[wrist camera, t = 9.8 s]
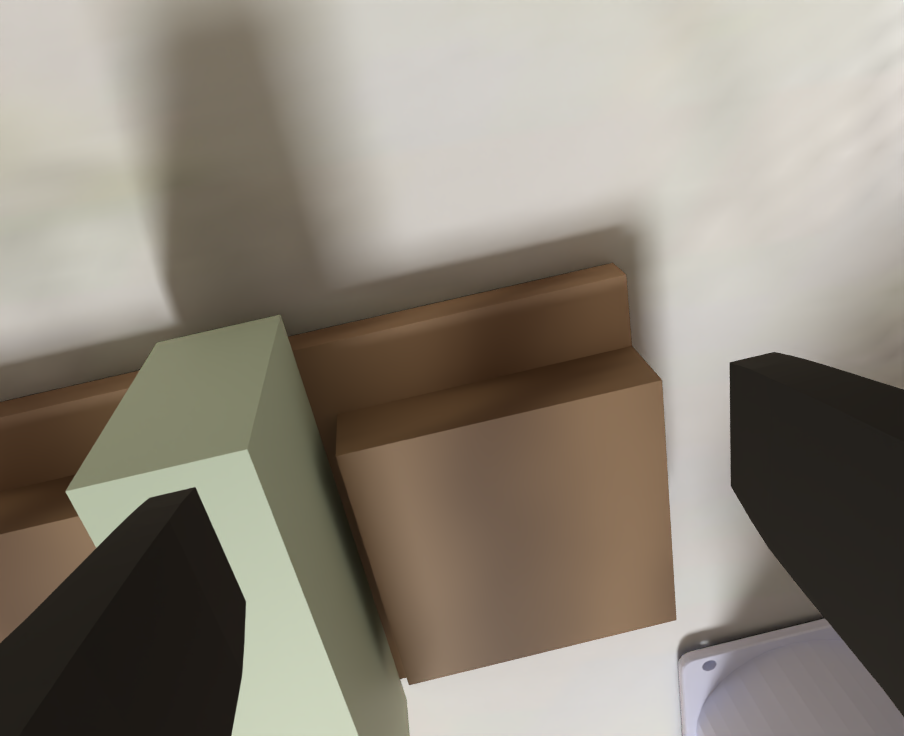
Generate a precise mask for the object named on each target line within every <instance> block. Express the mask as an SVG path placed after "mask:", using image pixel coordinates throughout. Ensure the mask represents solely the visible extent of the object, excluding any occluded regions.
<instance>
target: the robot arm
mask: <svg viewBox="0 0 904 736" xmlns="http://www.w3.org/2000/svg"><path fill="white" fill-rule="evenodd" d="M730 443H731V487H732V489H733V490H734V492H735V494H736V495H737V497H738V499H739V501H740V502H741V504H742V506H743V507H744V509H745V511H746V513H747V514H748V516H749V518H750V519H751V521H752V523H753V524H754V526H755V527H756V529H757V531H758V532H759V534H760V535H761V537H762V538H763V540H764V542H765V543H766V545H767V546H768V548H769V549H770V550H771V552H772V553H773V554H774V556H775V557H776V558H777V559H778V561H779V562H780V563H781V564H782V566H783V567H784V568H785V569H786V571H787V572H788V573H789V574H790V576H791V577H792V578H793V579H794V581H795V582H796V583H797V584H798V586H799V587H800V588H801V589H802V591H803V592H804V593H805V594H806V596H807V597H808V598H809V599H810V601H811V602H812V603H813V604H814V606H815V607H816V608H817V609H818V610H819V612H820V613H821V614H822V615H823V617H824V619H820V620H816V621H812V622H808V623H804V624H800V625H796V626H792V627H788V628H784V629H779V630H775V631H771V632H767V633H763V634H759V635H755V636H751V637H747V638H743V639H739V640H735V641H731V642H727V643H722V644H718V645H714V646H710V647H706V648H702V649H698V650H694V651H690V652H688V653H685V654H684V655H683V656H682V657H681V658H680V660H679V663H678V670H679V687H680V703H681V719H682V736H904V390H903V389H899V388H896V387H893V386H890V385H887V384H884V383H880V382H877V381H874V380H871V379H868V378H865V377H861V376H858V375H855V374H852V373H849V372H845V371H842V370H839V369H836V368H833V367H829V366H826V365H823V364H819V363H816V362H812V361H809V360H805V359H802V358H798V357H794V356H790V355H785V354H781V353H776V352H772V353H768V354H764V355H760V356H755V357H751V358H747V359H742V360H738V361H734V362H730ZM245 618H246V600H245V598H244V596H243V593H242V591H241V589H240V587H239V584H238V582H237V580H236V578H235V575H234V573H233V571H232V568H231V566H230V564H229V562H228V559H227V557H226V555H225V553H224V550H223V548H222V546H221V544H220V541H219V539H218V537H217V535H216V532H215V530H214V528H213V526H212V523H211V521H210V519H209V516H208V514H207V512H206V510H205V507H204V505H203V503H202V501H201V498H200V496H199V494H198V492H197V489H196V487H193V488H189V489H185V490H180V491H176V492H172V493H167V494H163V495H159V496H154V497H150V498H148V499H147V500H146V501H145V502H144V503H142V504H141V505H140V506H139V507H138V508H137V509H136V510H134V511H133V512H132V513H131V514H130V515H129V516H128V517H127V518H126V519H125V520H124V521H123V522H122V523H121V524H120V525H119V526H118V527H117V528H116V529H115V530H114V531H113V532H112V533H111V534H110V535H109V536H108V537H107V538H106V539H105V540H104V541H103V542H102V543H101V544H100V545H99V546H98V547H97V548H96V549H95V550H94V551H93V552H92V553H91V554H90V555H89V556H88V557H87V558H86V559H85V560H84V561H83V562H82V563H81V564H80V565H79V566H78V567H77V568H76V569H75V570H74V571H73V572H72V573H71V574H70V575H69V576H68V577H67V578H66V579H65V580H64V581H63V582H62V583H61V584H60V585H59V586H58V587H57V588H56V589H55V590H54V591H53V592H52V593H51V594H50V595H49V596H48V597H47V598H46V599H45V600H44V601H43V602H42V603H41V604H40V605H39V606H38V607H37V608H36V609H35V610H34V611H33V612H32V613H31V614H30V615H29V616H28V617H27V618H26V619H25V620H24V621H23V622H22V623H21V624H20V625H19V626H18V627H17V628H16V629H15V630H14V631H13V632H12V633H10V634H9V635H8V636H7V637H6V638H5V639H4V640H3V641H2V642H1V643H0V736H231V735H232V730H233V724H234V719H235V713H236V708H237V702H238V697H239V691H240V685H241V680H242V673H243V658H244V643H245Z"/></svg>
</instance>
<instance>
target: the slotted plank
mask: <svg viewBox="0 0 904 736" xmlns="http://www.w3.org/2000/svg"><path fill="white" fill-rule="evenodd" d="M288 339H289V342H290V345H291V348H292V351H293V354H294V357H295V361H296V364H297V367H298V370H299V373H300V376H301V379H302V382H303V385H304V388H305V391H306V394H307V397H308V400H309V403H310V406H311V409H312V412H313V415H314V419H315V422H316V425H317V428H318V431H319V434H320V437H321V440H322V443H323V446H324V449H325V452H326V455H327V458H328V461H329V464H330V467H331V470H332V473H333V477H334V480H335V483H336V486H337V489H338V492H339V495H340V498H341V501H342V504H343V507H344V510H345V513H346V516H347V519H348V522H349V525H350V528H351V531H352V535H353V538H354V541H355V544H356V547H357V550H358V553H359V556H360V559H361V562H362V565H363V568H364V571H365V574H366V577H367V580H368V583H369V586H370V589H371V593H372V596H373V599H374V602H375V605H376V608H377V611H378V614H379V617H380V620H381V623H382V626H383V629H384V632H385V635H386V638H387V641H388V644H389V647H390V651H391V654H392V657H393V660H394V663H395V666H396V669H397V672H398V675H399V678H400V679H402V678H406V677H407V680H408V683H409V685H412V684H416V683H420V682H424V681H428V680H432V679H436V678H440V677H445V676H449V675H453V674H457V673H461V672H465V671H469V670H473V669H477V668H481V667H486V666H490V665H494V664H498V663H502V662H506V661H510V660H514V659H518V658H522V657H527V656H531V655H535V654H539V653H543V652H547V651H551V650H555V649H559V648H563V647H568V646H572V645H576V644H580V643H584V642H588V641H592V640H596V639H600V638H604V637H609V636H613V635H617V634H621V633H625V632H629V631H633V630H637V629H641V628H645V627H650V626H654V625H658V624H662V623H666V622H670V621H674V620H676V605H675V589H674V572H673V555H672V539H671V522H670V505H669V489H668V472H667V455H666V439H665V422H664V405H663V389H662V380H661V379H660V377H659V376H658V375H657V374H656V373H655V372H654V371H653V369H652V368H651V367H650V366H649V365H648V364H647V363H646V361H645V360H644V359H643V358H642V357H641V356H640V355H639V353H638V352H637V351H636V350H635V349H634V348H633V347H632V341H631V328H630V316H629V303H628V291H627V278H626V274H625V273H624V272H623V271H621V270H620V269H619V268H618V267H617V266H616V265H615V264H614V263H610V264H605V265H601V266H597V267H592V268H588V269H583V270H579V271H575V272H570V273H566V274H561V275H557V276H553V277H548V278H544V279H539V280H535V281H531V282H526V283H522V284H517V285H513V286H509V287H504V288H500V289H495V290H491V291H487V292H482V293H478V294H473V295H469V296H465V297H460V298H456V299H451V300H447V301H443V302H438V303H434V304H429V305H425V306H421V307H416V308H412V309H407V310H403V311H399V312H394V313H390V314H386V315H381V316H377V317H372V318H368V319H364V320H359V321H355V322H350V323H346V324H342V325H337V326H333V327H328V328H324V329H320V330H315V331H311V332H306V333H302V334H298V335H293V336H289V337H288ZM139 371H140V370H139ZM139 371H135V372H130V373H126V374H122V375H117V376H113V377H108V378H104V379H100V380H95V381H91V382H86V383H82V384H78V385H73V386H69V387H64V388H60V389H56V390H51V391H47V392H42V393H38V394H34V395H29V396H25V397H21V398H16V399H12V400H7V401H3V402H0V643H1V642H2V641H3V640H4V639H5V638H6V637H7V636H8V635H9V634H10V633H12V632H13V631H14V630H15V629H16V628H17V627H18V626H19V625H20V624H21V623H22V622H23V621H24V620H25V619H26V618H27V617H28V616H29V615H30V614H31V613H32V612H33V611H34V610H35V609H36V608H37V607H38V606H39V605H40V604H41V603H42V602H43V601H44V600H45V599H46V598H47V597H48V596H49V595H50V594H51V593H52V592H53V591H54V590H55V589H56V588H57V587H58V586H59V585H60V584H61V583H62V582H63V581H64V580H65V579H66V578H67V577H68V576H69V575H70V574H71V573H72V572H73V571H74V570H75V569H76V568H77V567H78V566H79V565H80V564H81V563H82V562H83V561H84V560H85V559H86V558H87V557H88V556H89V555H90V554H91V553H92V552H93V551H94V550H95V549H96V546H95V545H94V543H93V541H92V539H91V537H90V536H89V534H88V532H87V530H86V528H85V526H84V525H83V523H82V521H81V519H80V517H79V516H78V514H77V512H76V510H75V508H74V506H73V505H72V503H71V501H70V499H69V497H68V495H67V494H66V492H65V491H66V489H67V488H68V486H69V485H70V483H71V481H72V480H73V478H74V476H75V475H76V473H77V472H78V470H79V468H80V467H81V465H82V463H83V462H84V460H85V459H86V457H87V455H88V454H89V452H90V450H91V449H92V447H93V446H94V444H95V442H96V441H97V439H98V437H99V436H100V434H101V433H102V431H103V429H104V428H105V426H106V424H107V423H108V421H109V420H110V418H111V416H112V415H113V413H114V411H115V410H116V408H117V407H118V405H119V403H120V402H121V400H122V398H123V397H124V395H125V394H126V392H127V390H128V389H129V387H130V385H131V384H132V382H133V381H134V379H135V377H136V376H137V374H138V372H139Z"/></svg>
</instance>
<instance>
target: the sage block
mask: <svg viewBox="0 0 904 736" xmlns="http://www.w3.org/2000/svg"><path fill="white" fill-rule="evenodd" d="M193 487H196V489H197V492H198V494H199V496H200V498H201V501H202V503H203V505H204V507H205V510H206V512H207V514H208V516H209V519H210V521H211V523H212V526H213V528H214V530H215V532H216V535H217V537H218V539H219V541H220V544H221V546H222V548H223V550H224V553H225V555H226V557H227V559H228V562H229V564H230V566H231V568H232V571H233V573H234V575H235V578H236V580H237V582H238V584H239V587H240V589H241V591H242V593H243V596H244V598H245V600H246V618H245V643H244V658H243V673H242V680H241V685H240V691H239V697H238V702H237V708H236V713H235V719H234V724H233V730H232V735H231V736H410V735H409V723H408V710H407V699H406V696H405V693H404V690H403V687H402V684H401V681H400V678H399V675H398V672H397V669H396V666H395V663H394V660H393V657H392V654H391V651H390V647H389V644H388V641H387V638H386V635H385V632H384V629H383V626H382V623H381V620H380V617H379V614H378V611H377V608H376V605H375V602H374V599H373V596H372V593H371V589H370V586H369V583H368V580H367V577H366V574H365V571H364V568H363V565H362V562H361V559H360V556H359V553H358V550H357V547H356V544H355V541H354V538H353V535H352V531H351V528H350V525H349V522H348V519H347V516H346V513H345V510H344V507H343V504H342V501H341V498H340V495H339V492H338V489H337V486H336V483H335V480H334V477H333V473H332V470H331V467H330V464H329V461H328V458H327V455H326V452H325V449H324V446H323V443H322V440H321V437H320V434H319V431H318V428H317V425H316V422H315V419H314V415H313V412H312V409H311V406H310V403H309V400H308V397H307V394H306V391H305V388H304V385H303V382H302V379H301V376H300V373H299V370H298V367H297V364H296V361H295V357H294V354H293V351H292V348H291V345H290V342H289V339H288V336H287V333H286V330H285V327H284V324H283V321H282V318H281V315H277V316H272V317H268V318H263V319H259V320H254V321H250V322H246V323H241V324H237V325H232V326H228V327H223V328H219V329H215V330H210V331H206V332H201V333H197V334H193V335H188V336H184V337H179V338H175V339H170V340H166V341H162V342H157V343H156V345H155V346H154V348H153V350H152V351H151V353H150V355H149V356H148V358H147V359H146V361H145V363H144V364H143V366H142V368H141V369H140V371H139V372H138V374H137V376H136V377H135V379H134V381H133V382H132V384H131V385H130V387H129V389H128V390H127V392H126V394H125V395H124V397H123V398H122V400H121V402H120V403H119V405H118V407H117V408H116V410H115V411H114V413H113V415H112V416H111V418H110V420H109V421H108V423H107V424H106V426H105V428H104V429H103V431H102V433H101V434H100V436H99V437H98V439H97V441H96V442H95V444H94V446H93V447H92V449H91V450H90V452H89V454H88V455H87V457H86V459H85V460H84V462H83V463H82V465H81V467H80V468H79V470H78V472H77V473H76V475H75V476H74V478H73V480H72V481H71V483H70V485H69V486H68V488H67V489H66V491H65V492H66V494H67V495H68V497H69V499H70V501H71V503H72V505H73V506H74V508H75V510H76V512H77V514H78V516H79V517H80V519H81V521H82V523H83V525H84V526H85V528H86V530H87V532H88V534H89V536H90V537H91V539H92V541H93V543H94V545H95V546H96V548H97V547H98V546H99V545H100V544H101V543H102V542H103V541H104V540H105V539H106V538H107V537H108V536H109V535H110V534H111V533H112V532H113V531H114V530H115V529H116V528H117V527H118V526H119V525H120V524H121V523H122V522H123V521H124V520H125V519H126V518H127V517H128V516H129V515H130V514H131V513H132V512H133V511H134V510H136V509H137V508H138V507H139V506H140V505H141V504H142V503H144V502H145V501H146V500H147V499H148V498H150V497H154V496H159V495H163V494H167V493H172V492H176V491H180V490H185V489H189V488H193Z"/></svg>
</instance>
